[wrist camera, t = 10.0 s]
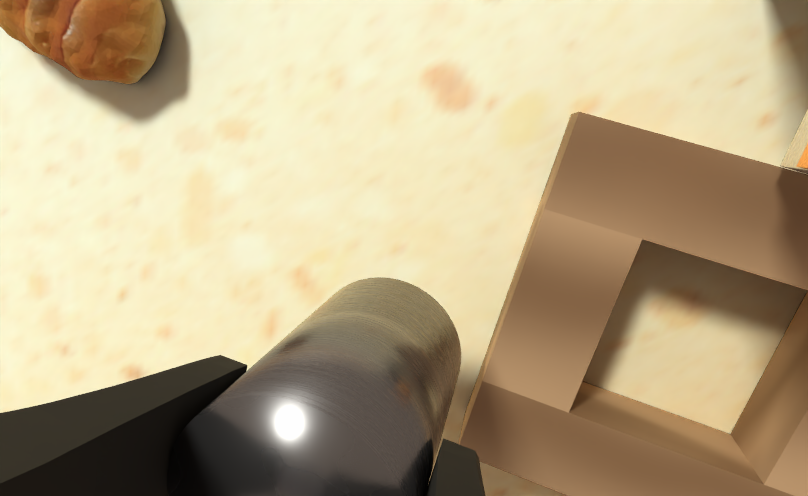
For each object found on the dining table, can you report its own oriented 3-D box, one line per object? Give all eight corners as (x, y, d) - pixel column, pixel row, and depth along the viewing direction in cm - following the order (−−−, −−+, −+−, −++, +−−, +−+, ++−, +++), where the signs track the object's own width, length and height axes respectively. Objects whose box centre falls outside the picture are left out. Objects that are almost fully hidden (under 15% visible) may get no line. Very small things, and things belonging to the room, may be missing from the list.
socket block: (777, 529, 17) (818, 594, 15) (465, 411, 19) (456, 451, 16) (964, 223, 14) (1053, 242, 12) (571, 114, 16) (579, 112, 13)
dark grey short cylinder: (431, 441, 14) (364, 663, 8) (298, 383, 14) (149, 553, 9) (483, 312, 13) (447, 466, 7) (336, 254, 13) (191, 353, 7)
